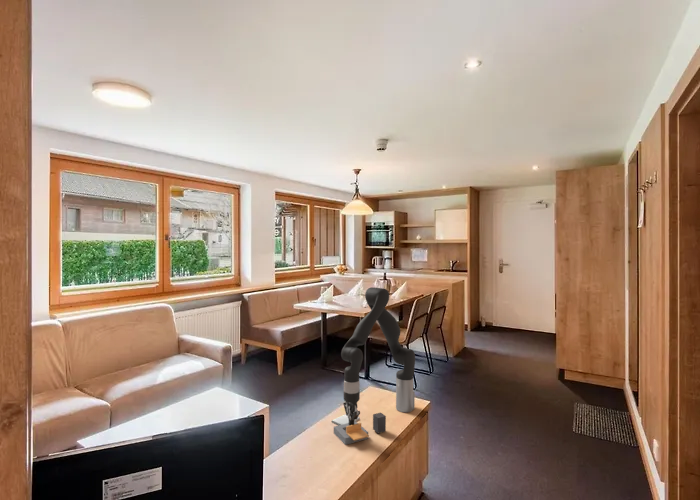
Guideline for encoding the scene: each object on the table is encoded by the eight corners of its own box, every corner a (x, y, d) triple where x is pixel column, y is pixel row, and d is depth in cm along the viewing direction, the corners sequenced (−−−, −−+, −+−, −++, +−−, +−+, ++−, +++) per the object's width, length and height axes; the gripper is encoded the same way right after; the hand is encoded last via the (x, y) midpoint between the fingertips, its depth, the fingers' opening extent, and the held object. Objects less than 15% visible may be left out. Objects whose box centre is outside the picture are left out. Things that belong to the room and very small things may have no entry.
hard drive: (343, 425, 181) (359, 417, 190) (331, 420, 186) (348, 412, 196) (343, 428, 181) (359, 420, 190) (331, 423, 186) (348, 415, 196)
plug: (380, 428, 180) (380, 412, 180) (385, 432, 176) (385, 416, 176) (372, 430, 178) (373, 414, 178) (377, 434, 174) (377, 418, 174)
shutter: (360, 429, 173) (360, 422, 173) (368, 436, 166) (368, 429, 166) (346, 433, 169) (346, 426, 169) (354, 440, 162) (354, 433, 162)
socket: (355, 427, 181) (355, 421, 181) (368, 438, 171) (368, 432, 171) (333, 433, 176) (333, 426, 176) (345, 444, 165) (345, 438, 165)
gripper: (365, 393, 168) (365, 431, 168) (352, 383, 180) (351, 419, 180) (351, 396, 165) (350, 435, 165) (338, 386, 176) (338, 422, 176)
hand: (351, 426), depth 172 cm, fingers closed
